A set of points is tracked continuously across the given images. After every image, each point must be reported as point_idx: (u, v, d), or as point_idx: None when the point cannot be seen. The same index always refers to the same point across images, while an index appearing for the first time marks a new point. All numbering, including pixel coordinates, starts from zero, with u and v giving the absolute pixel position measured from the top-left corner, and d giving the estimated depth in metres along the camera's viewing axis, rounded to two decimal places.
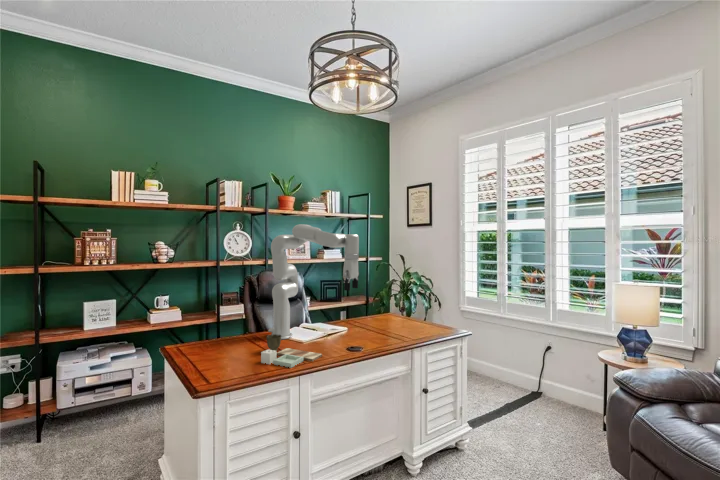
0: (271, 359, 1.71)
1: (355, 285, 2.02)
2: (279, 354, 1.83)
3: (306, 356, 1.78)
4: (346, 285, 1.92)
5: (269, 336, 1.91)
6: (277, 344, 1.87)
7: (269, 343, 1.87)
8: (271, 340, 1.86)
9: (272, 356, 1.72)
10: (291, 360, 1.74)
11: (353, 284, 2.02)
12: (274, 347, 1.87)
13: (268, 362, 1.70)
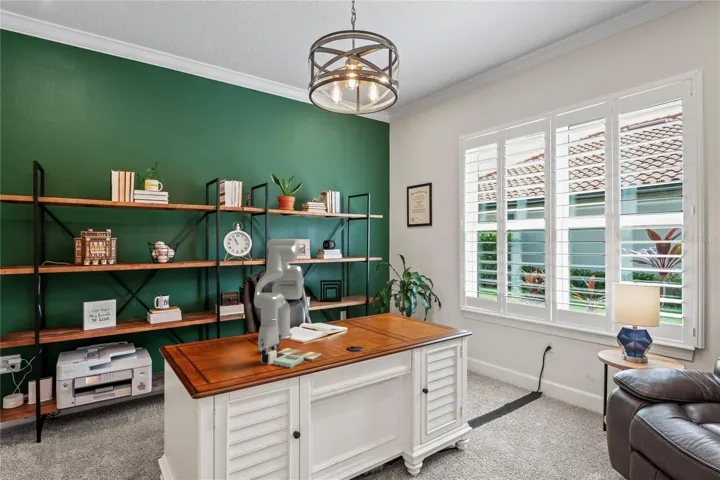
0: (271, 358, 1.71)
1: None
2: (279, 354, 1.83)
3: (306, 356, 1.78)
4: (263, 357, 1.70)
5: None
6: None
7: None
8: None
9: (272, 356, 1.72)
10: (291, 360, 1.74)
11: None
12: None
13: (268, 362, 1.70)
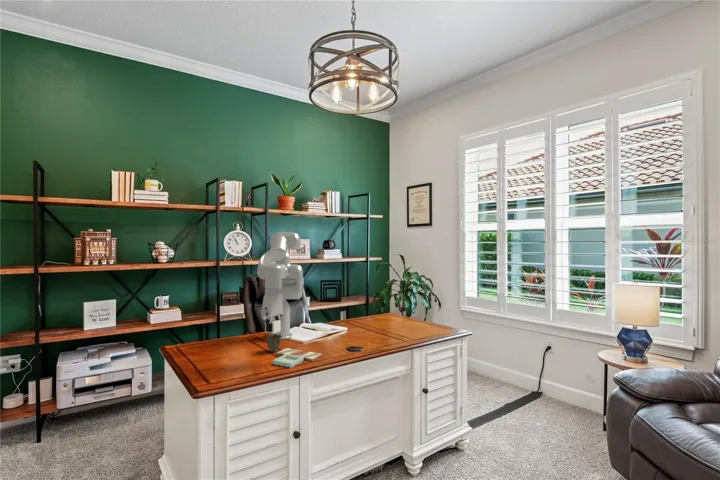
0: (275, 328, 1.71)
1: None
2: (279, 354, 1.83)
3: (306, 356, 1.78)
4: (267, 326, 1.70)
5: (269, 336, 1.91)
6: (277, 344, 1.87)
7: (269, 343, 1.87)
8: (271, 340, 1.86)
9: (276, 325, 1.71)
10: (291, 360, 1.74)
11: None
12: (274, 347, 1.87)
13: (272, 331, 1.70)
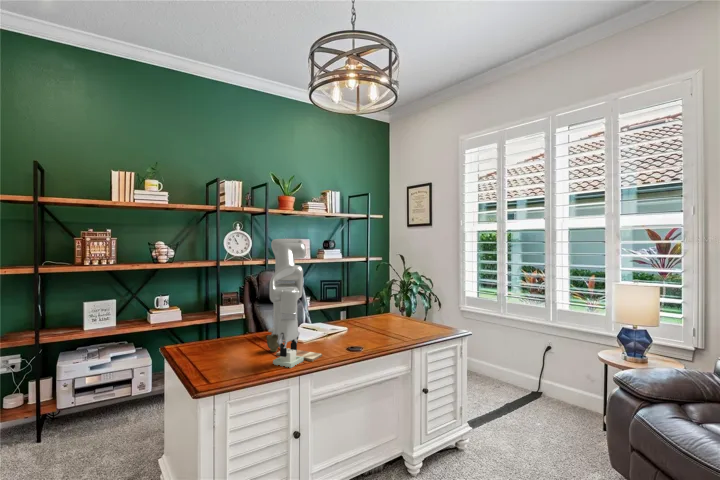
0: (291, 358, 1.70)
1: (293, 348, 1.76)
2: (279, 354, 1.83)
3: (306, 356, 1.78)
4: (282, 351, 1.68)
5: (269, 336, 1.91)
6: (277, 344, 1.87)
7: (269, 343, 1.87)
8: (271, 340, 1.86)
9: (292, 356, 1.71)
10: None
11: (291, 347, 1.76)
12: (274, 347, 1.87)
13: (288, 361, 1.70)
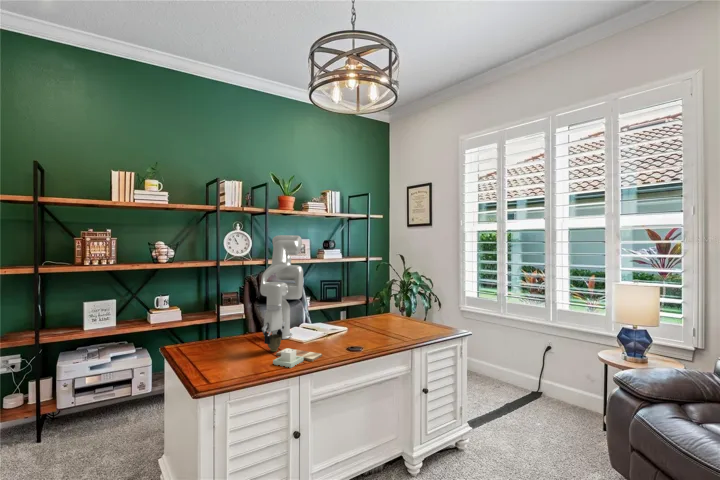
0: (291, 358, 1.70)
1: None
2: (279, 354, 1.83)
3: (306, 356, 1.78)
4: (266, 338, 1.83)
5: None
6: (277, 344, 1.87)
7: None
8: (271, 340, 1.86)
9: (292, 356, 1.71)
10: None
11: None
12: (274, 347, 1.87)
13: (288, 361, 1.70)
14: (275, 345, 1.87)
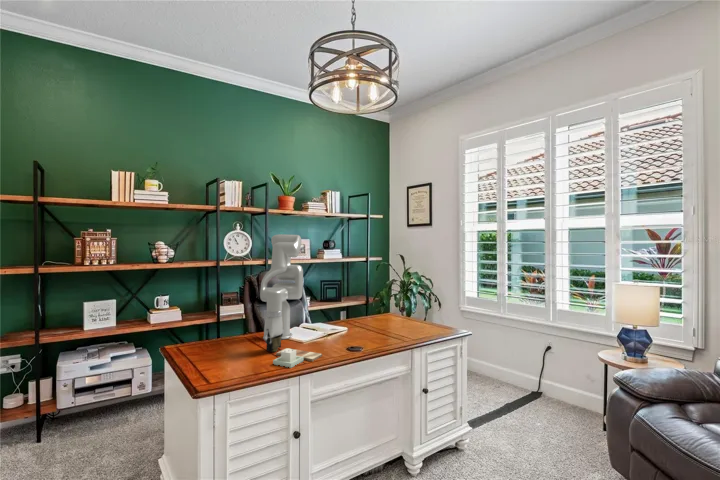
0: (291, 358, 1.70)
1: None
2: (279, 354, 1.83)
3: (306, 356, 1.78)
4: (268, 346, 1.85)
5: (269, 336, 1.91)
6: (277, 344, 1.87)
7: None
8: None
9: (292, 356, 1.71)
10: None
11: None
12: (274, 347, 1.87)
13: (288, 361, 1.70)
14: (275, 345, 1.87)
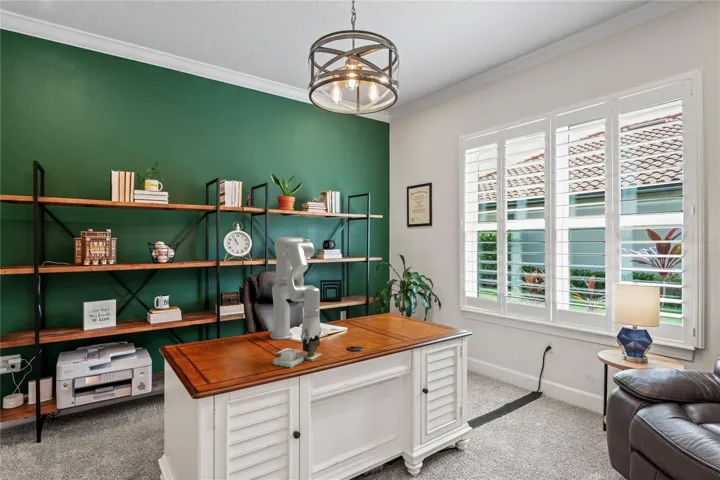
0: (291, 358, 1.70)
1: None
2: (279, 354, 1.83)
3: (306, 356, 1.78)
4: (305, 346, 1.75)
5: None
6: (315, 348, 1.78)
7: None
8: (309, 344, 1.76)
9: (292, 356, 1.71)
10: None
11: None
12: (312, 351, 1.77)
13: (288, 361, 1.70)
14: (313, 349, 1.77)
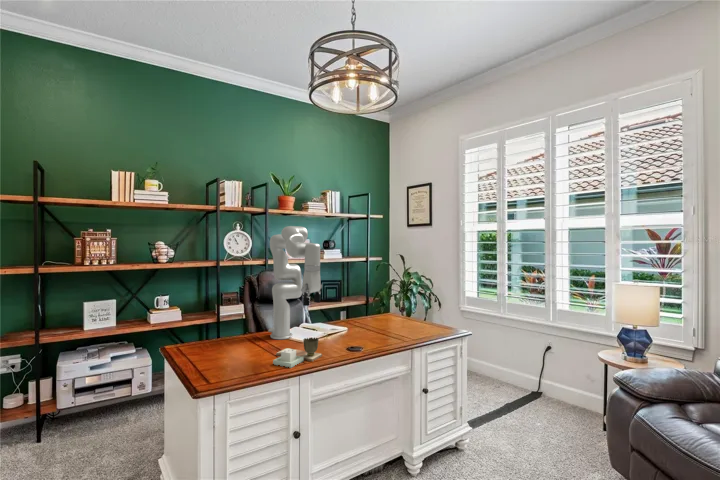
0: (291, 358, 1.70)
1: (317, 299, 1.84)
2: (279, 354, 1.83)
3: (306, 356, 1.78)
4: (305, 300, 1.75)
5: (305, 339, 1.82)
6: (315, 348, 1.78)
7: (306, 347, 1.77)
8: (309, 344, 1.76)
9: (292, 356, 1.71)
10: None
11: (315, 298, 1.84)
12: (312, 351, 1.77)
13: (288, 361, 1.70)
14: (313, 349, 1.77)
